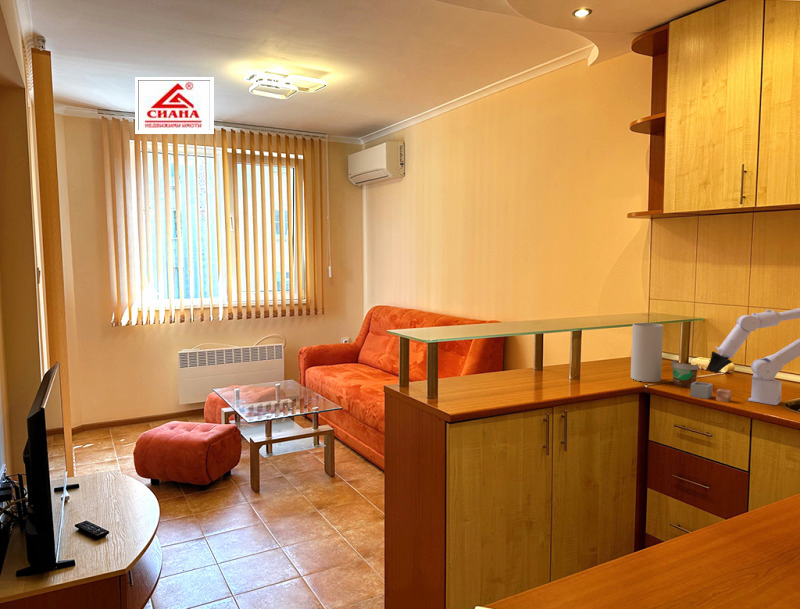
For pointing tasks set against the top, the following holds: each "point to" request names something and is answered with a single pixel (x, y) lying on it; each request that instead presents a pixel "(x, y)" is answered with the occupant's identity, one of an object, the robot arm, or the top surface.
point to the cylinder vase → (646, 352)
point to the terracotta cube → (723, 395)
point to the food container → (684, 374)
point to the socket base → (701, 390)
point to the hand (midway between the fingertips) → (711, 371)
